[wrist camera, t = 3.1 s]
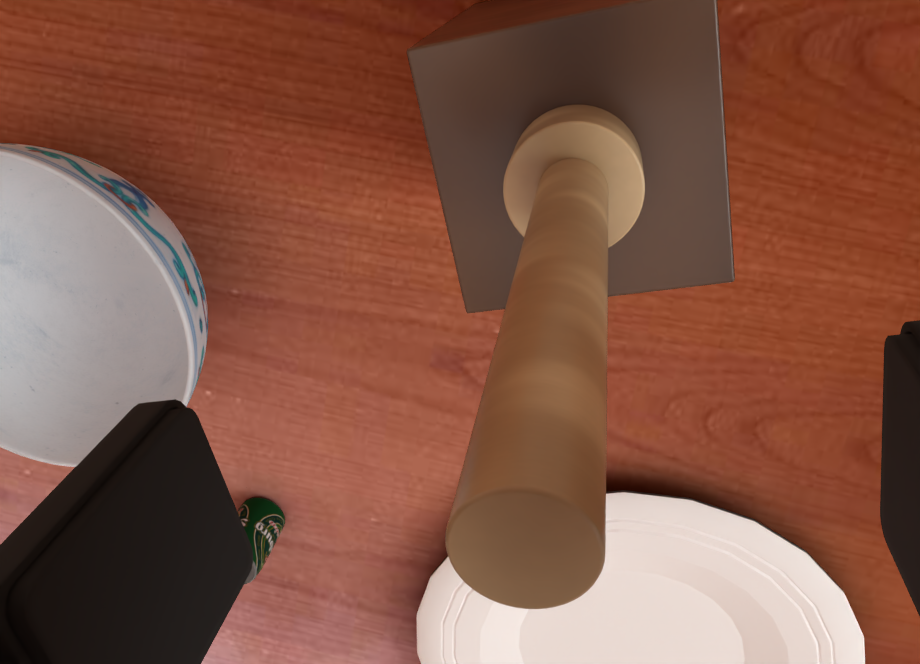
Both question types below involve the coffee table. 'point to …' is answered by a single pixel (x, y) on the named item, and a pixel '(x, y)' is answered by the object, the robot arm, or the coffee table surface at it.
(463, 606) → the plate
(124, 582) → the robot arm
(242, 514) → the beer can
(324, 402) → the coffee table surface
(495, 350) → the stick
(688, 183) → the stand
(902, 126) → the coffee table surface
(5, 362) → the chinaware
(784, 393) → the coffee table surface
